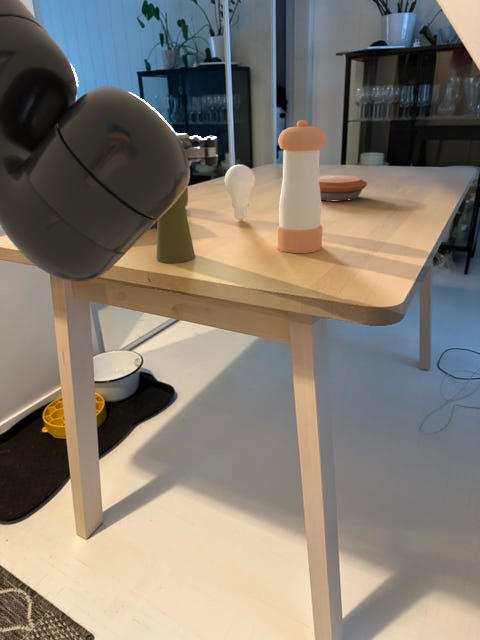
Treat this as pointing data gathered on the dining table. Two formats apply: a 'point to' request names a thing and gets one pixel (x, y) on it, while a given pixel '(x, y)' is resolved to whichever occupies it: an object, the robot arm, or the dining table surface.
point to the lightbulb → (240, 188)
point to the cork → (175, 234)
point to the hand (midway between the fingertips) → (157, 147)
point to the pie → (340, 187)
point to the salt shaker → (300, 190)
